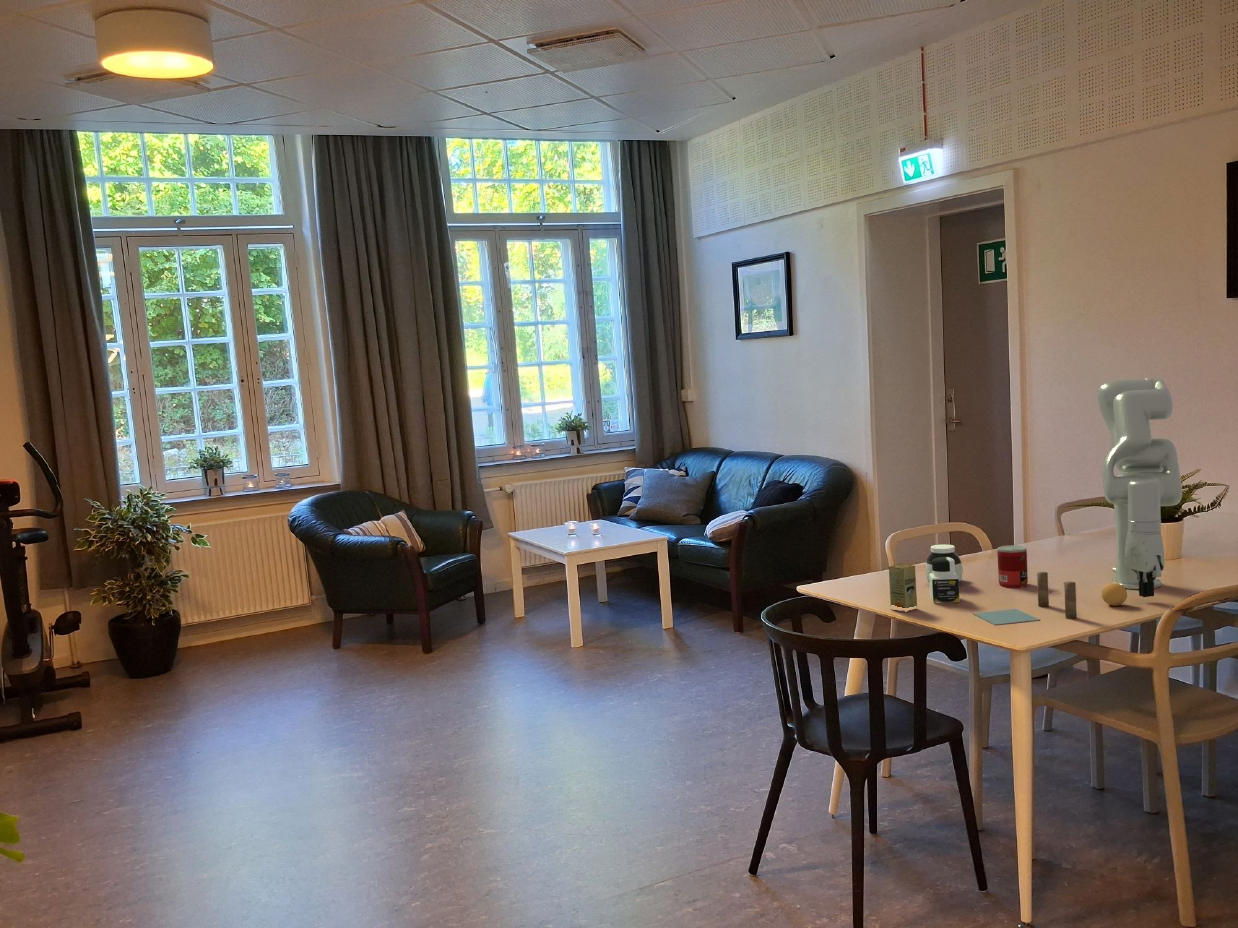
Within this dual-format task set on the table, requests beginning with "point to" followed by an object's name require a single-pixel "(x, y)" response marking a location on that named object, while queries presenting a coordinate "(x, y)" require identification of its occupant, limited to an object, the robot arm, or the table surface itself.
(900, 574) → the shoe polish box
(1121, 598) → the ball
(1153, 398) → the robot arm
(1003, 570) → the canned food
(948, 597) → the medicine bottle
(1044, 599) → the post
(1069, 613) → the post
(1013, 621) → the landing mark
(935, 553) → the spread jar
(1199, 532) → the table surface
